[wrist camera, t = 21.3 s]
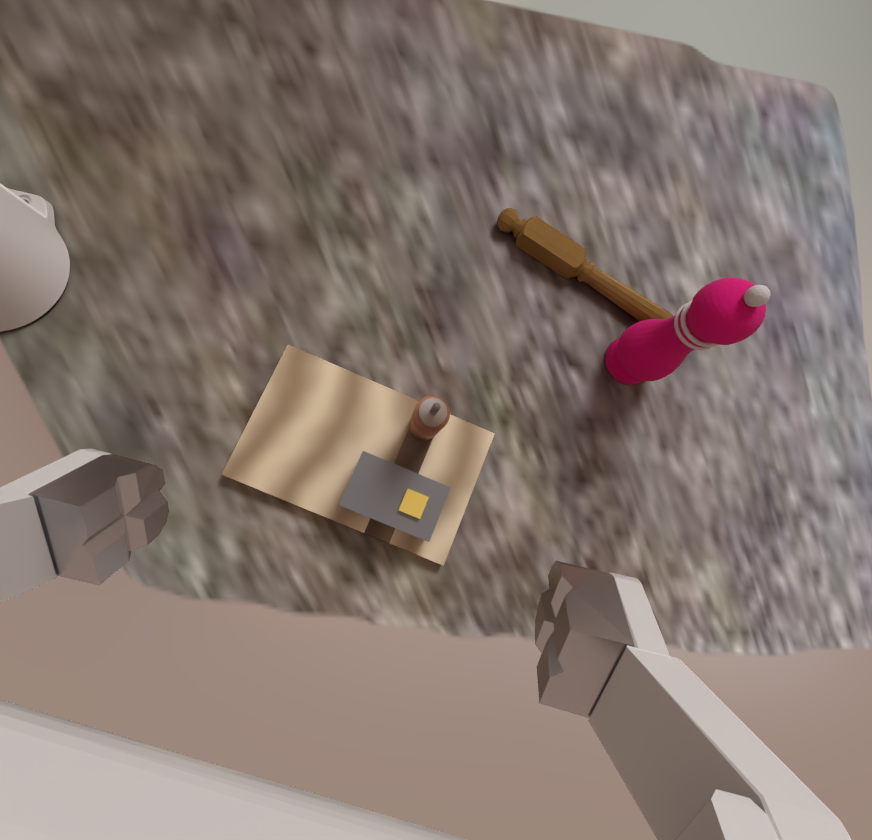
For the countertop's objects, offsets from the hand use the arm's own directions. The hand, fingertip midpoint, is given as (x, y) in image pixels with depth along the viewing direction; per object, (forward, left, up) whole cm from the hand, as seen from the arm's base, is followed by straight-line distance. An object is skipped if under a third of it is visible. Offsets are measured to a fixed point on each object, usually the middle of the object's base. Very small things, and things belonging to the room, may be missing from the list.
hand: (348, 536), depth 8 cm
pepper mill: (+23, +27, -40) cm, 54 cm away
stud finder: (+2, 0, -39) cm, 39 cm away
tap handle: (+15, +36, -40) cm, 56 cm away
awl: (+2, +9, -39) cm, 40 cm away
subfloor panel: (-3, +3, -40) cm, 40 cm away
